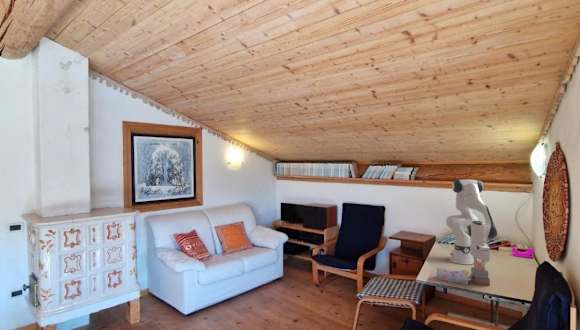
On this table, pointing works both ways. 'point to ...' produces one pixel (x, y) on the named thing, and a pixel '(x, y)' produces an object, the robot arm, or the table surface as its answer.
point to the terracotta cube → (478, 265)
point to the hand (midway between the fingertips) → (479, 265)
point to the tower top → (479, 273)
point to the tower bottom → (480, 280)
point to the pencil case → (453, 275)
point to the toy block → (523, 253)
